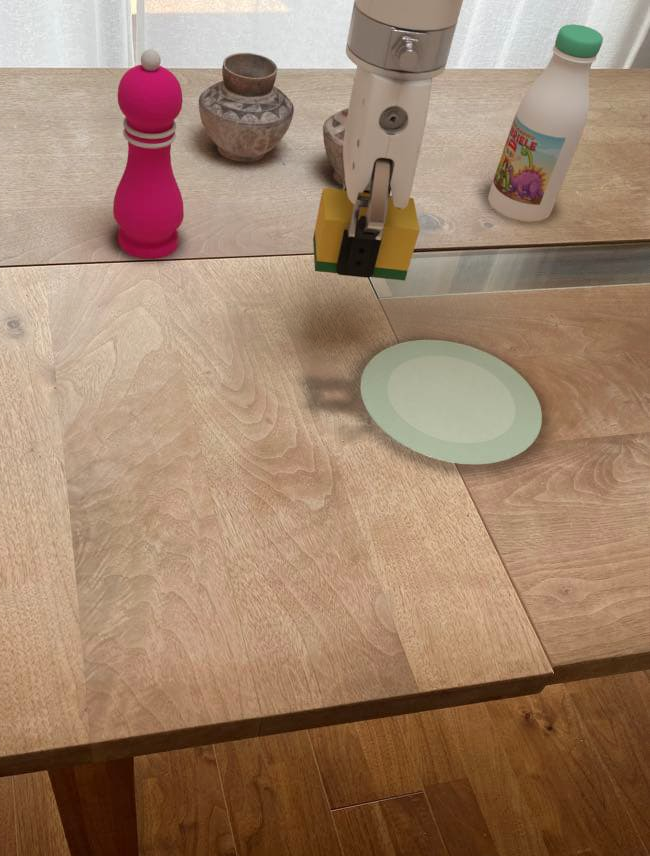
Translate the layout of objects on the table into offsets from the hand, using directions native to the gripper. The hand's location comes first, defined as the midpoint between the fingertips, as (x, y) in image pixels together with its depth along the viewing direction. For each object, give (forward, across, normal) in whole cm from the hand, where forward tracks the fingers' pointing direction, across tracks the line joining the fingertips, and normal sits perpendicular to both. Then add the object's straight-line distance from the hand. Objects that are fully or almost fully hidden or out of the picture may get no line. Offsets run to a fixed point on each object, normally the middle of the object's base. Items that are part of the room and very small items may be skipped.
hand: (352, 253), depth 79 cm
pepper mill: (+11, +14, +19) cm, 26 cm away
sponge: (+1, 0, -1) cm, 1 cm away
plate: (+11, -7, -11) cm, 17 cm away
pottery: (+11, +34, +3) cm, 36 cm away
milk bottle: (+11, +30, -24) cm, 40 cm away
